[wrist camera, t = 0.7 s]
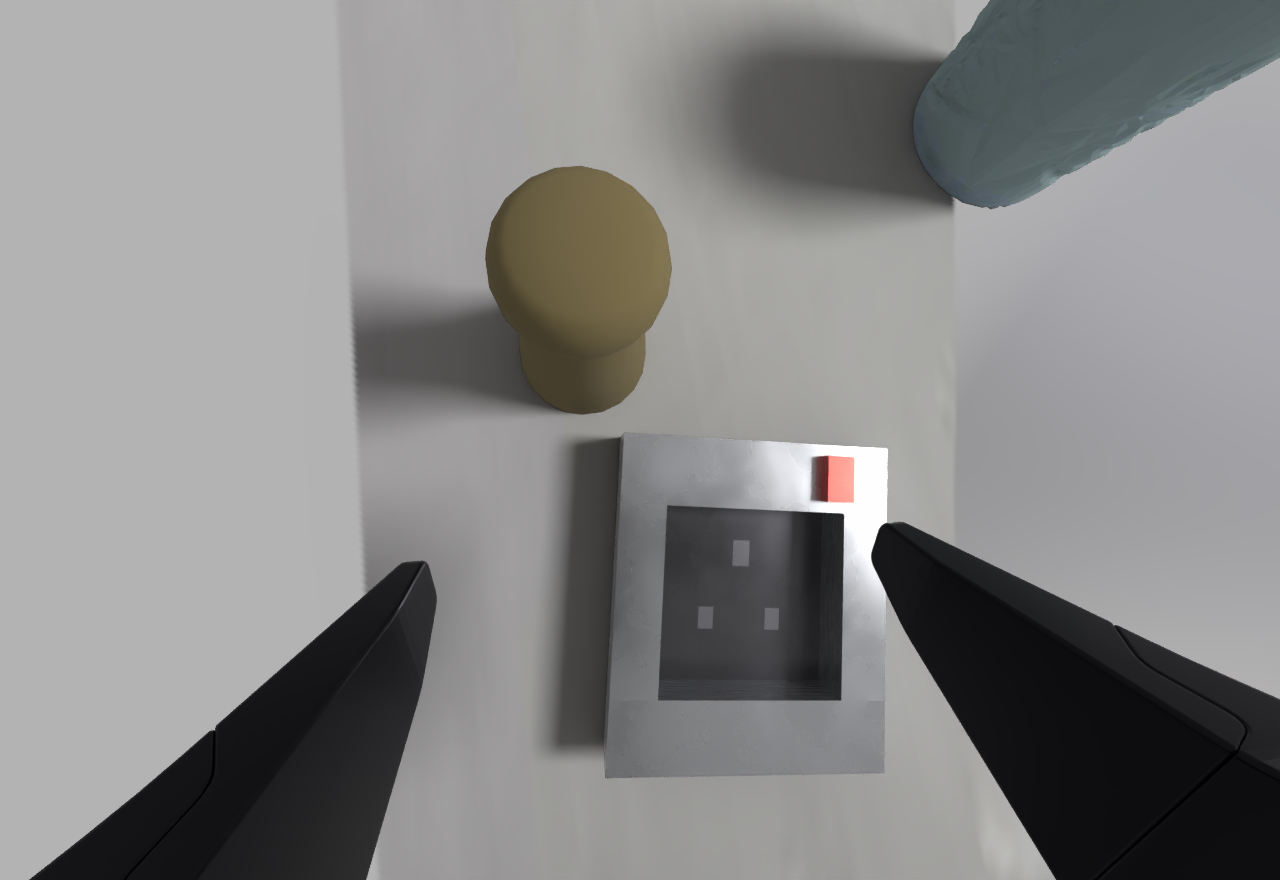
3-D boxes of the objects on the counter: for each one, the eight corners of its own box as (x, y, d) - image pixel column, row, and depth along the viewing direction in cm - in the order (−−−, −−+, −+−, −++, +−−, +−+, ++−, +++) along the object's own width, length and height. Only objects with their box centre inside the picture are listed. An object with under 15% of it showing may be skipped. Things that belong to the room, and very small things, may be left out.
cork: (493, 335, 22) (403, 200, 11) (598, 268, 23) (607, 81, 12) (568, 439, 22) (550, 403, 11) (669, 368, 23) (744, 271, 12)
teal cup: (1084, 200, 26) (1490, -24, 15) (928, 243, 25) (1236, 34, 13) (1024, 36, 27) (1373, -314, 15) (869, 69, 26) (1115, -286, 14)
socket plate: (851, 740, 23) (893, 782, 20) (603, 742, 21) (605, 788, 18) (855, 451, 24) (895, 448, 21) (620, 437, 22) (625, 431, 19)
